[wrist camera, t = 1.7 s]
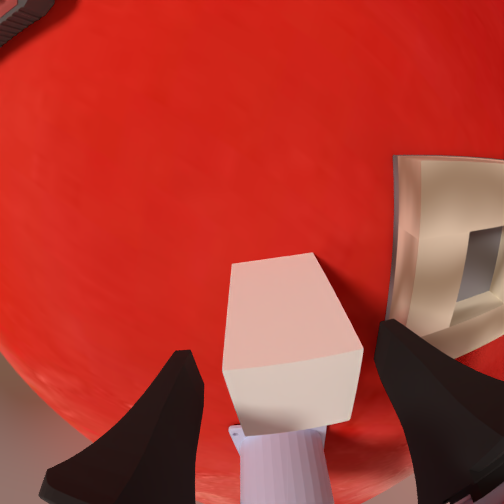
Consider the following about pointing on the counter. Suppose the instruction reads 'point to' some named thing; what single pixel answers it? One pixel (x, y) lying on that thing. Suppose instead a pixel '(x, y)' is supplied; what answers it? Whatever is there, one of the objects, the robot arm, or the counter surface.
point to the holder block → (448, 250)
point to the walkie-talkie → (20, 15)
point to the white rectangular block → (288, 347)
